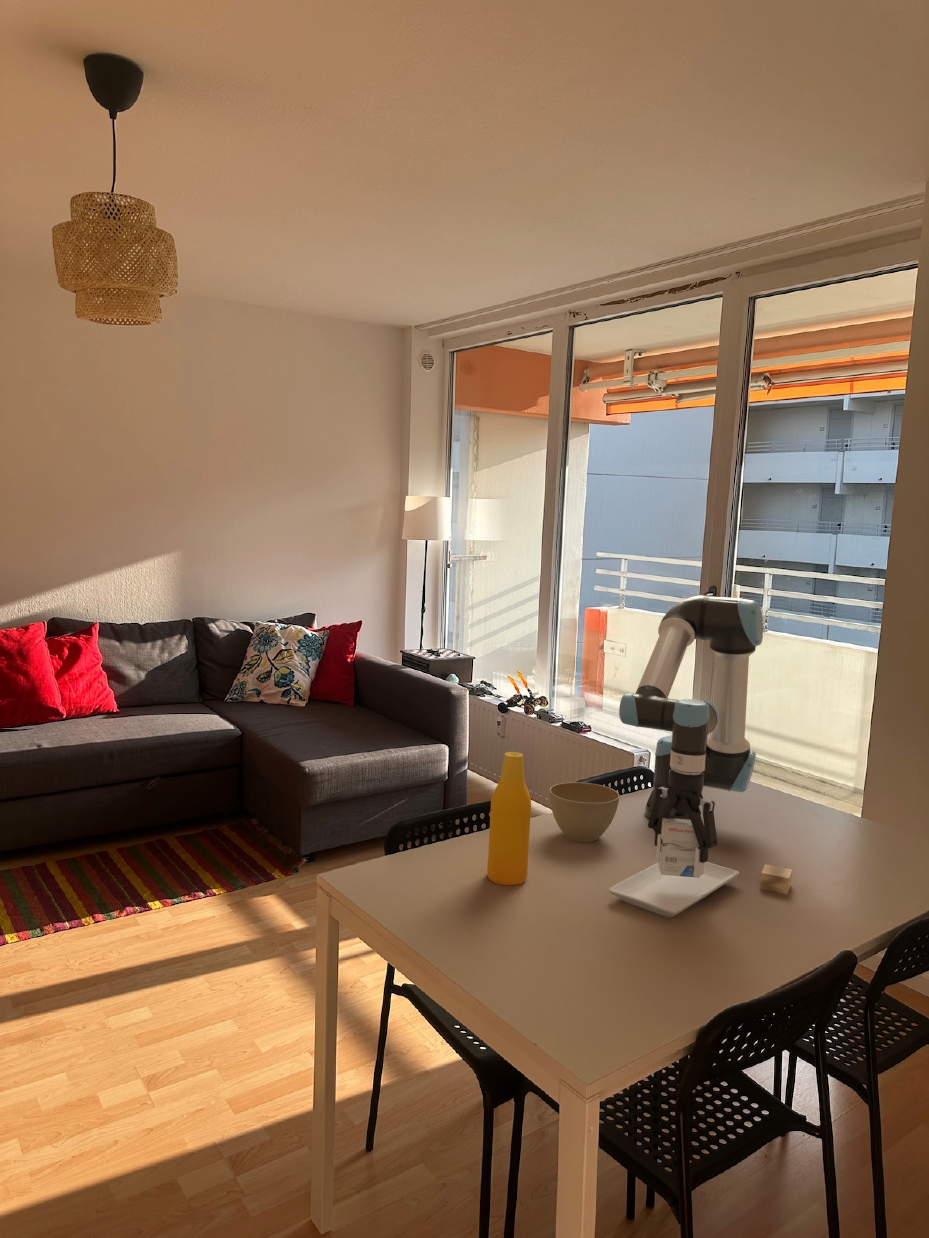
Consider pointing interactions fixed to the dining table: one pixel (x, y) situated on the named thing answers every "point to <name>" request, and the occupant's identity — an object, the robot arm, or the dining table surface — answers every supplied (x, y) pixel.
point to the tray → (671, 888)
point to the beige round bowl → (583, 809)
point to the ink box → (677, 848)
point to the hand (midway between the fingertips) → (679, 867)
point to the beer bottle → (509, 824)
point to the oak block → (776, 879)
